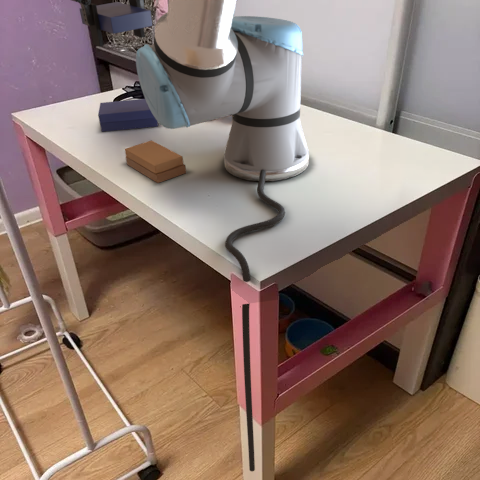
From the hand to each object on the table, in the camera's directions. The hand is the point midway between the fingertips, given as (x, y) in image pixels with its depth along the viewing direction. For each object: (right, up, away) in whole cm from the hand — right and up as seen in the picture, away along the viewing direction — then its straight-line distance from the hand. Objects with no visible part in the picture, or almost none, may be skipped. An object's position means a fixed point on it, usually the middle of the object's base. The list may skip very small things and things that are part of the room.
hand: (119, 40), depth 95 cm
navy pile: (-2, -9, +17) cm, 19 cm away
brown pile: (+7, -25, -2) cm, 26 cm away
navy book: (0, +2, -2) cm, 3 cm away
